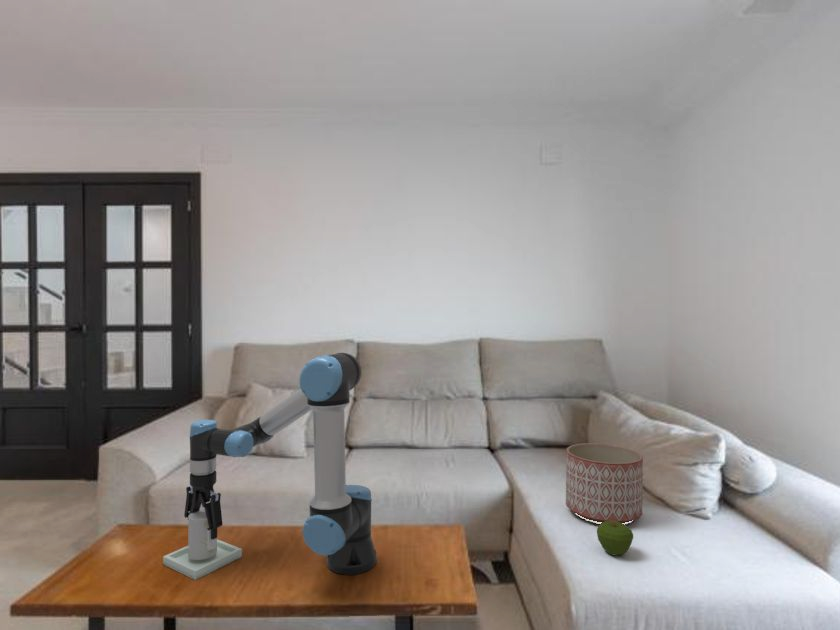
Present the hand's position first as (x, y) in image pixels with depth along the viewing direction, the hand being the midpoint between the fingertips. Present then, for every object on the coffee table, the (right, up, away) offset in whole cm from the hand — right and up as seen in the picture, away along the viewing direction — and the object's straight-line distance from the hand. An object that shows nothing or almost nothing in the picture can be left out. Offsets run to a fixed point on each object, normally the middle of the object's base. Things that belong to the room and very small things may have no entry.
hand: (202, 544), depth 155 cm
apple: (+129, -6, +7) cm, 129 cm away
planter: (+137, -6, +37) cm, 142 cm away
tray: (0, -5, 0) cm, 5 cm away
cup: (0, -3, 0) cm, 3 cm away
